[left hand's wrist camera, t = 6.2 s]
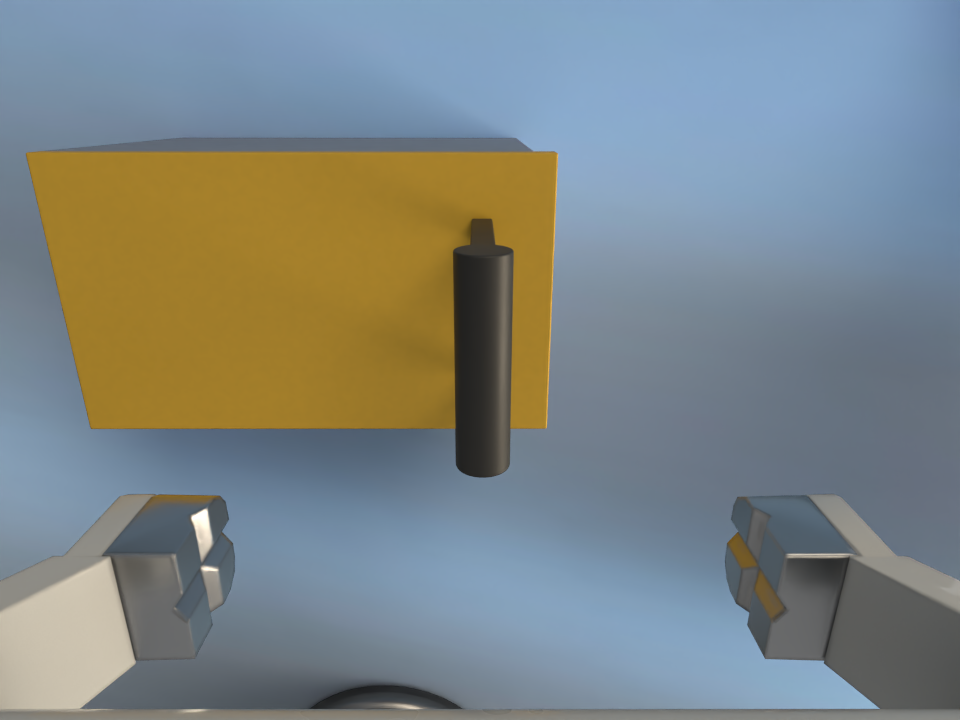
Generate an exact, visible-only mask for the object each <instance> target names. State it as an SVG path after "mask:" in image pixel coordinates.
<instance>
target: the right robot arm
mask: <svg viewBox="0 0 960 720" xmlns="http://www.w3.org/2000/svg"><path fill="white" fill-rule="evenodd" d="M311 709H462V708H460V707H459V706H457V705H456V704H454V703H452V702H450V701H448V700H446V699H444V698H442V697H439V696H437V695H434V694H431V693H429V692H425V691H421V690H418V689H412V688H407V687H398V686H371V687H362V688H357V689H352V690H348V691H345V692H342V693H339V694H336V695H333V696H331V697H329V698H327V699H325V700H323V701H321V702H320V703H318V704H316V705H315V706H313V707H312V708H311Z"/></svg>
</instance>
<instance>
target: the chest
mask: <svg viewBox="0 0 960 720" xmlns="http://www.w3.org/2000/svg"><path fill="white" fill-rule="evenodd" d="M50 151H503V152H534V151H532V150H531V149H530V148H528V147H527V146H526V145H524V144H523V143H522V142H520V141H519V140H518V139H516V138H176V139H164V140H154V141H143V142H133V143H123V144H112V145H102V146H91V147H81V148H70V149H60V150H50Z"/></svg>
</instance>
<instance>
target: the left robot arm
mask: <svg viewBox="0 0 960 720" xmlns="http://www.w3.org/2000/svg"><path fill="white" fill-rule="evenodd" d="M228 520H229V517H228V512H227V507H226V502H225V501H224V500H223V499H222V497H221V496H207V495H155V494H130V495H124V496H120V497H119V498H118V499H117V500H116V501H115V502H114V503H113V504H112V505H111V506H110V507H109V508H108V509H107V510H106V511H105V513H104V514H103V515H102V516H101V517H100V518H99V519H98V520H97V521H96V522H95V523H94V524H93V525H92V526H91V527H90V528H89V529H88V531H87V532H86V533H85V534H84V535H83V536H82V537H81V538H80V539H79V540H78V541H77V542H76V543H75V544H74V545H73V546H72V547H71V549H70V550H69V551H68V552H67V553H66V554H65V555H64V556H52V557H50V558H48V559H46V560H44V561H42V562H39V563H37V564H35V565H33V566H31V567H29V568H27V569H24V570H22V571H20V572H18V573H16V574H14V575H12V576H10V577H7V578H5V579H3V580H1V581H0V720H960V581H959V580H957V579H955V578H952V577H950V576H948V575H946V574H944V573H942V572H940V571H938V570H935V569H933V568H931V567H929V566H927V565H925V564H923V563H921V562H918V561H916V560H914V559H912V558H910V557H908V556H896V555H895V554H894V553H893V552H892V551H891V550H890V549H889V547H888V546H887V545H886V544H885V543H884V542H883V541H882V540H881V539H880V538H879V537H878V536H877V535H876V534H875V533H874V532H873V530H872V529H871V528H870V527H869V526H868V525H867V524H866V523H865V522H864V521H863V520H862V519H861V518H860V517H859V516H858V515H857V513H856V512H855V511H854V510H853V509H852V508H851V507H850V506H849V505H848V504H847V503H846V502H845V501H844V500H843V499H842V498H841V497H839V496H837V495H835V494H816V495H793V496H752V497H737V499H736V501H735V503H734V505H733V511H732V516H731V520H732V522H733V524H734V525H735V527H736V529H737V530H738V533H737V534H736V535H735V536H734V537H733V538H732V539H731V540H730V541H729V542H728V543H727V548H726V556H725V568H726V579H727V582H728V586H729V589H730V592H731V594H732V596H733V598H734V600H735V602H736V604H738V605H739V606H741V607H742V608H744V609H745V610H746V611H748V612H749V618H748V624H747V625H748V627H749V629H750V631H751V633H752V635H753V637H754V639H755V640H756V642H757V644H758V646H759V648H760V650H761V652H762V654H763V656H764V657H765V659H787V660H823V661H824V664H826V665H827V666H828V667H829V668H831V669H832V670H833V671H834V672H835V673H837V674H838V675H839V676H840V677H842V678H843V679H844V680H845V681H847V682H848V683H849V684H850V685H852V686H853V687H854V688H855V689H856V690H858V691H859V692H860V693H861V694H863V695H864V696H865V697H866V698H868V699H869V700H870V701H871V702H873V703H874V704H875V705H876V706H877V707H879V708H880V709H80V708H81V707H83V706H84V705H85V704H86V703H88V702H89V701H90V700H91V699H93V698H94V697H95V696H96V695H98V694H99V693H100V692H101V691H103V690H104V689H105V688H106V687H107V686H109V685H110V684H111V683H112V682H114V681H115V680H116V679H117V678H119V677H120V676H121V675H122V674H124V673H125V672H126V671H127V670H129V669H130V668H131V667H132V666H133V665H135V664H136V660H171V659H195V658H196V656H197V654H198V652H199V650H200V648H201V646H202V644H203V642H204V640H205V639H206V637H207V635H208V633H209V631H210V629H211V627H212V625H213V624H212V618H211V612H212V611H214V610H215V609H216V608H218V607H219V606H221V605H222V604H224V602H225V600H226V598H227V596H228V594H229V592H230V590H231V585H232V581H233V576H234V572H235V554H234V548H233V543H232V542H231V541H230V540H229V539H228V538H227V537H226V536H225V535H224V534H223V533H222V530H223V529H224V527H225V525H226V524H227V522H228Z"/></svg>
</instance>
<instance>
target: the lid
mask: <svg viewBox="0 0 960 720" xmlns="http://www.w3.org/2000/svg"><path fill="white" fill-rule="evenodd" d="M26 157H27V161H28V165H29V169H30V174H31V178H32V182H33V186H34V191H35V195H36V199H37V203H38V207H39V212H40V216H41V220H42V224H43V229H44V233H45V237H46V241H47V246H48V250H49V254H50V258H51V262H52V267H53V271H54V275H55V279H56V284H57V288H58V292H59V296H60V301H61V305H62V309H63V313H64V317H65V322H66V326H67V330H68V334H69V339H70V343H71V347H72V351H73V356H74V360H75V364H76V368H77V373H78V377H79V381H80V385H81V389H82V394H83V398H84V402H85V406H86V411H87V415H88V419H89V423H90V428H91V429H455V435H456V466H457V468H458V469H459V470H460V471H461V472H462V473H464V474H466V475H469V476H473V477H493V476H497V475H500V474H502V473H503V472H505V471H506V470H507V469H508V467H509V465H510V429H545V428H547V408H548V384H549V360H550V335H551V311H552V287H553V263H554V239H555V214H556V190H557V166H558V153H556V152H503V151H38V152H28V153H26Z"/></svg>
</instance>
